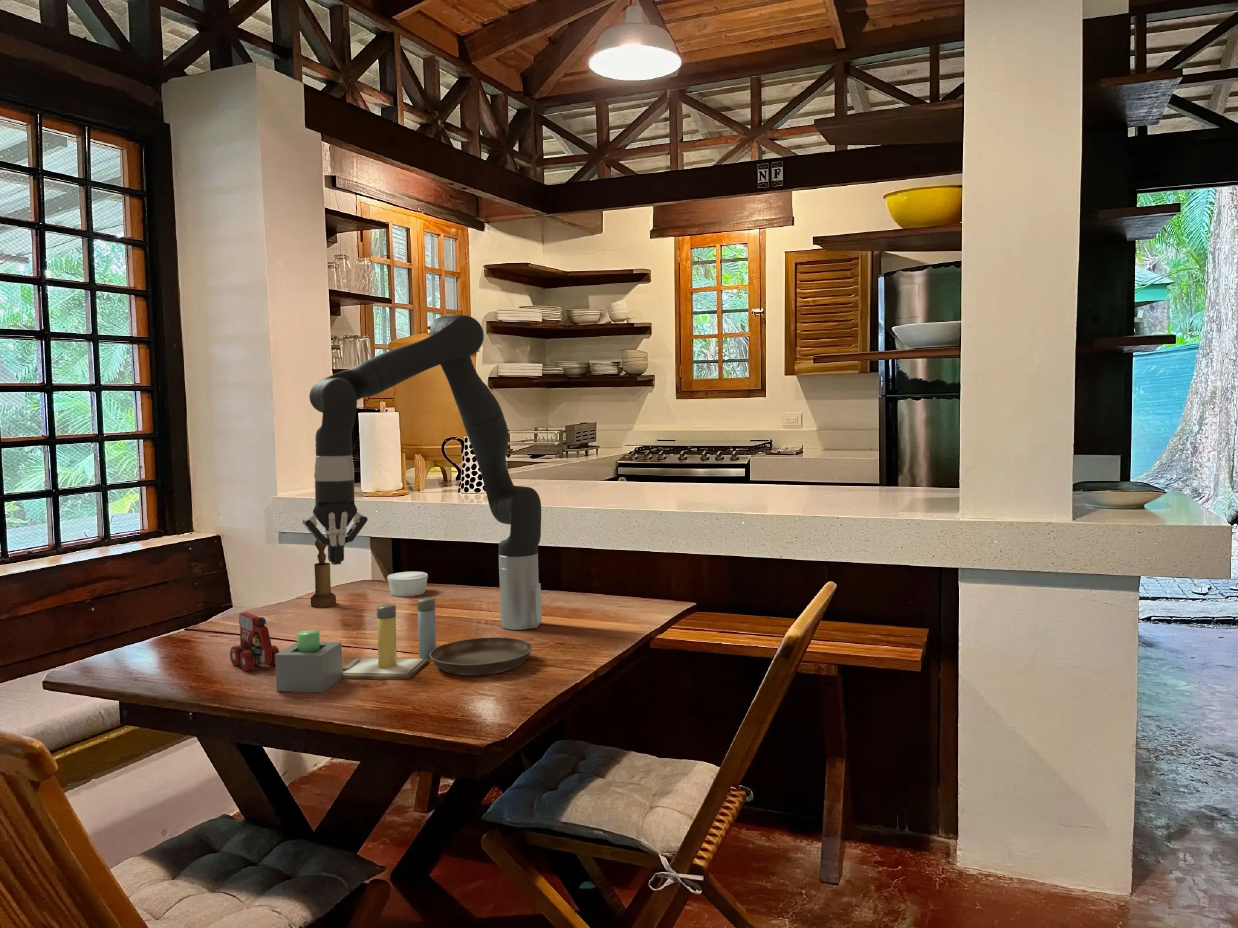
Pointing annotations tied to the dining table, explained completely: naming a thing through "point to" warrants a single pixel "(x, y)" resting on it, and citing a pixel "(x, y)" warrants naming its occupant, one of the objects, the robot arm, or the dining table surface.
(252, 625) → the toy fire truck
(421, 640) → the slate
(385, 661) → the marker mustard
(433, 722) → the dining table surface
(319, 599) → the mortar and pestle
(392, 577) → the ramekin
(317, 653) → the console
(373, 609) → the dining table surface
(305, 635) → the button
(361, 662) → the sketch pad
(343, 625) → the dining table surface
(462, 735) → the dining table surface
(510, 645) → the plant saucer
